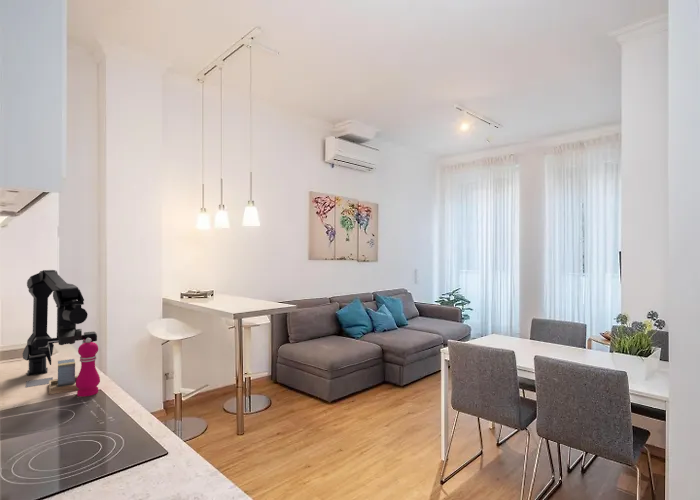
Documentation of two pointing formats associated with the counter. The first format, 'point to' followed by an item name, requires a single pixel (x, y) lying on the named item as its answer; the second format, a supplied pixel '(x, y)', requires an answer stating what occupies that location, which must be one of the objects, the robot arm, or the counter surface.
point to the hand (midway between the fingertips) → (66, 362)
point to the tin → (66, 372)
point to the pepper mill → (87, 369)
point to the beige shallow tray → (55, 389)
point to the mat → (38, 382)
